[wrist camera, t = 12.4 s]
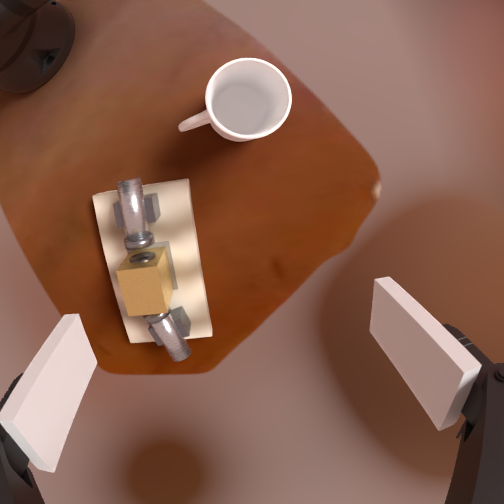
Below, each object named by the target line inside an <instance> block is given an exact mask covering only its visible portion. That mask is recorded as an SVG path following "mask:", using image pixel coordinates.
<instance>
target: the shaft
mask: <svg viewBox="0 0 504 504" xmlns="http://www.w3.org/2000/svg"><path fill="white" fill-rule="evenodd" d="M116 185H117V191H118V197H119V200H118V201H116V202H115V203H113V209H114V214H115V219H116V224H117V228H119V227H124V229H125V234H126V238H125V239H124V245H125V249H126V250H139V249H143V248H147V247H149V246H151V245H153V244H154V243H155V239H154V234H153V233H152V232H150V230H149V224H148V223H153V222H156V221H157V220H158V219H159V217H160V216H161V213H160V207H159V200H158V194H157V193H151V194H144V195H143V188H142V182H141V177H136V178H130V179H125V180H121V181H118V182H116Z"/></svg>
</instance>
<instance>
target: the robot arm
mask: <svg viewBox="0 0 504 504" xmlns="http://www.w3.org/2000/svg"><path fill="white" fill-rule="evenodd" d="M74 34H75V24H74V19H73V16H72V14H71V13H70V11H69V10H68V9H67V8H66V7H64V6H63V5H62V4H60V3H59V2H57V1H54V0H0V89H1V90H3V91H6V92H10V93H18V94H22V93H28V92H31V91H33V90H35V89H37V88H39V87H41V86H42V85H44V84H45V83H46V82H47V81H49V80H50V79H51V78H52V77H53V76H54V75H55V74H56V72H57V71H58V70H59V69H60V67H61V66H62V65H63V63H64V61H65V60H66V58H67V56H68V54H69V52H70V49H71V47H72V44H73V40H74ZM373 293H374V294H373V303H372V304H373V305H372V314H371V323H370V332H371V334H372V335H373V337H374V338H375V339H376V341H377V342H378V343H379V345H380V346H381V348H382V349H383V350H384V352H385V353H386V355H387V356H388V357H389V359H390V360H391V361H392V363H393V364H394V366H395V367H396V369H397V370H398V372H399V373H400V374H401V376H402V377H403V379H404V380H405V382H406V383H407V385H408V386H409V387H410V389H411V390H412V392H413V393H414V395H415V396H416V398H417V399H418V401H419V402H420V404H421V405H422V407H423V408H424V409H425V411H426V412H427V414H428V415H429V417H430V418H431V420H432V422H433V423H434V425H435V426H436V427H437V429H438V431H440V430H442V429H445V428H447V427H449V426H451V425H453V424H455V423H456V422H457V420H458V418H459V416H460V413H461V412H462V414H463V415H464V416H465V418H466V419H465V421H464V423H463V425H462V427H461V429H460V431H459V432H458V434H457V436H456V438H459V437H460V435H461V439H460V445H459V450H458V454H457V459H456V463H455V467H454V472H453V476H452V479H451V484H450V487H449V490H448V494H447V497H446V501H445V504H504V363H497V364H493V363H492V362H491V361H490V360H489V359H488V358H487V357H486V356H485V355H484V354H483V353H482V352H481V351H480V350H479V349H478V348H477V347H476V346H475V345H474V344H472V342H471V341H470V340H469V339H468V338H466V336H465V335H463V334H462V333H461V332H460V331H459V330H458V329H457V328H455V327H452V326H450V325H449V324H444V325H441V324H440V323H439V322H438V321H437V320H436V319H435V318H434V317H433V316H432V315H431V314H429V312H427V311H426V310H425V309H424V308H423V307H422V306H421V305H420V304H419V303H418V302H417V301H416V300H415V299H413V298H412V297H411V296H410V295H409V294H408V293H407V292H406V291H405V290H404V289H402V288H401V287H400V286H399V285H398V284H397V283H396V282H395V281H394V280H392V279H391V278H390V277H385V278H379V279H375V280H374V292H373ZM96 364H97V361H96V358H95V356H94V353H93V351H92V349H91V346H90V344H89V341H88V338H87V336H86V333H85V331H84V328H83V325H82V323H81V320H80V317H79V314H66V315H64V316H63V318H62V319H61V320H60V322H59V323H58V324H57V326H56V327H55V329H54V330H53V331H52V333H51V334H50V336H49V337H48V339H47V340H46V341H45V343H44V344H43V346H42V347H41V348H40V350H39V352H38V353H37V354H36V356H35V357H34V359H33V360H32V362H31V363H30V365H29V366H28V368H27V369H26V371H25V373H22V374H20V375H19V376H18V377H17V378H16V379H15V380H14V381H13V382H12V384H11V386H10V387H9V390H8V391H7V392H6V394H5V395H4V398H2V400H1V402H0V504H45V502H44V500H43V498H42V496H41V494H40V491H39V489H38V487H37V484H36V482H35V479H34V477H33V474H32V472H31V470H30V469H29V468H28V466H27V465H28V462H29V460H30V461H31V462H32V463H33V464H34V465H35V466H36V467H37V468H38V469H40V470H44V471H49V472H53V473H54V472H55V469H56V465H57V463H58V460H59V457H60V454H61V451H62V449H63V446H64V443H65V440H66V438H67V435H68V432H69V430H70V427H71V424H72V422H73V419H74V416H75V414H76V412H77V409H78V407H79V404H80V402H81V399H82V397H83V395H84V392H85V390H86V387H87V385H88V382H89V380H90V378H91V376H92V373H93V371H94V369H95V367H96ZM461 433H462V434H461Z"/></svg>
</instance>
